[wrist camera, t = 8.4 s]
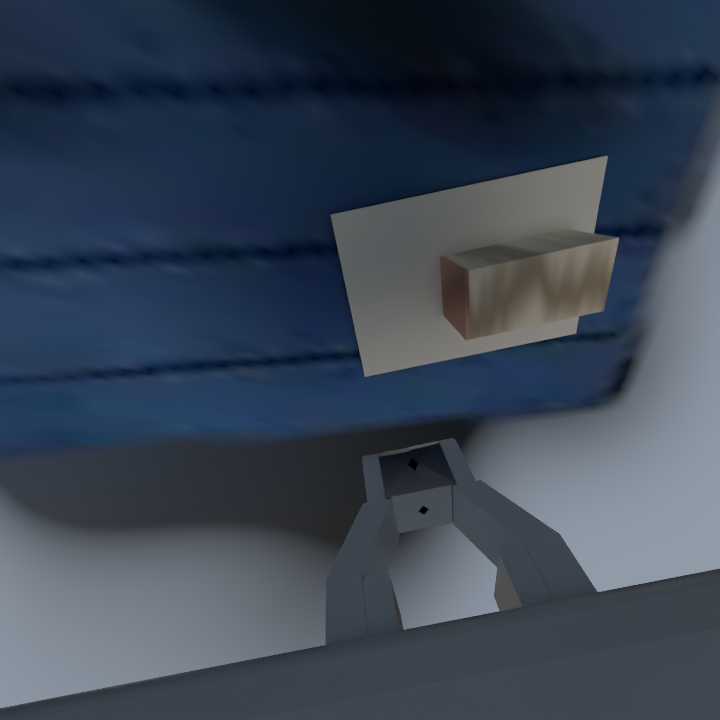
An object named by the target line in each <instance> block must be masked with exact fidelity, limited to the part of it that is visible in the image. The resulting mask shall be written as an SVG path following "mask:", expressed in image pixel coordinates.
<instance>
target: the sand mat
mask: <svg viewBox="0 0 720 720" xmlns="http://www.w3.org/2000/svg"><path fill="white" fill-rule="evenodd" d="M607 158H608V156H602V157H597V158H593V159H588V160H583V161H579V162H574V163H569V164H565V165H560V166H555V167H551V168H546V169H541V170H537V171H532V172H527V173H523V174H518V175H513V176H509V177H504V178H499V179H495V180H490V181H485V182H481V183H476V184H471V185H467V186H462V187H457V188H453V189H448V190H443V191H439V192H434V193H429V194H424V195H420V196H415V197H410V198H406V199H401V200H396V201H392V202H387V203H382V204H378V205H373V206H368V207H364V208H359V209H354V210H350V211H345V212H340V213H336V214H331V220H332V224H333V229H334V234H335V239H336V243H337V248H338V253H339V257H340V262H341V267H342V271H343V276H344V281H345V286H346V290H347V295H348V300H349V304H350V309H351V314H352V319H353V323H354V328H355V333H356V337H357V342H358V347H359V351H360V356H361V361H362V366H363V370H364V375H365V377H367V376H372V375H377V374H382V373H386V372H391V371H396V370H401V369H406V368H411V367H415V366H420V365H425V364H430V363H435V362H440V361H445V360H449V359H454V358H459V357H464V356H469V355H474V354H479V353H483V352H488V351H493V350H498V349H503V348H508V347H513V346H517V345H522V344H527V343H532V342H537V341H542V340H547V339H551V338H556V337H561V336H566V335H571V334H576V330H577V325H578V319H579V316H578V317H573V318H568V319H564V320H559V321H554V322H550V323H545V324H540V325H536V326H531V327H526V328H522V329H517V330H512V331H508V332H503V333H498V334H494V335H489V336H484V337H479V338H475V339H470V340H465V339H464V338H463V337H462V336H461V335H460V333H459V332H458V331H457V330H456V329H455V328H454V327H453V326H452V325H451V324H450V322H449V321H448V320H447V319H446V318H445V317H444V316H443V302H442V286H441V270H440V257H441V256H446V255H450V254H455V253H459V252H464V251H468V250H473V249H478V248H482V247H487V246H491V245H496V244H500V243H505V242H509V241H514V240H519V239H523V238H528V237H532V236H537V235H541V234H546V233H550V232H555V231H560V230H564V229H569V230H575V231H581V232H587V233H593V234H594V230H595V224H596V219H597V213H598V208H599V202H600V197H601V191H602V186H603V180H604V174H605V169H606V163H607Z"/></svg>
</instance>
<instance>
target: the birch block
mask: <svg viewBox="0 0 720 720" xmlns="http://www.w3.org/2000/svg"><path fill="white" fill-rule="evenodd" d="M618 241H619V238H618V237H612V236H606V235H599V234H593V233H587V232H581V231H575V230H569V229H564V230H560V231H555V232H550V233H546V234H541V235H537V236H532V237H528V238H523V239H519V240H514V241H509V242H505V243H500V244H496V245H491V246H487V247H482V248H478V249H473V250H468V251H464V252H459V253H455V254H450V255H446V256H441V257H440V270H441V286H442V302H443V316H444V317H445V318H446V319H447V320H448V321H449V322H450V324H451V325H452V326H453V327H454V328H455V329H456V330H457V331H458V332H459V333H460V335H461V336H462V337H463V338H464V339H465V340H470V339H475V338H479V337H484V336H489V335H494V334H498V333H503V332H508V331H512V330H517V329H522V328H526V327H531V326H536V325H540V324H545V323H550V322H554V321H559V320H564V319H568V318H573V317H578V316H582V315H587V314H592V313H596V312H601V311H604V307H605V302H606V297H607V293H608V288H609V283H610V279H611V274H612V269H613V264H614V260H615V255H616V250H617V246H618Z"/></svg>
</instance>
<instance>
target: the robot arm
mask: <svg viewBox="0 0 720 720" xmlns="http://www.w3.org/2000/svg"><path fill="white" fill-rule="evenodd" d="M378 455H379V456H378ZM362 462H363V469H364V477H365V485H366V493H367V501H368V503H364V504H363V505H362V507H361V509H360V511H359V513H358V515H357V517H356V519H355V521H354V523H353V525H352V527H351V529H350V531H349V534H348V536H347V538H346V540H345V542H344V544H343V546H342V548H341V550H340V552H339V554H338V556H337V558H336V560H335V562H334V564H333V566H332V568H331V570H330V572H329V574H328V577H327V579H326V645H324V646H319V647H313V648H309V649H303V650H298V651H293V652H288V653H282V654H277V655H272V656H267V657H262V658H257V659H252V660H246V661H242V662H236V663H231V664H226V665H221V666H215V667H211V668H205V669H200V670H195V671H190V672H185V673H179V674H174V675H169V676H164V677H159V678H154V679H149V680H144V681H139V682H133V683H128V684H123V685H118V686H112V687H107V688H102V689H97V690H93V691H87V692H82V693H77V694H72V695H67V696H61V697H56V698H51V699H46V700H41V701H36V702H31V703H26V704H20V705H16V706H10V707H5V708H0V720H720V569H716V570H711V571H706V572H700V573H695V574H690V575H685V576H680V577H675V578H669V579H665V580H659V581H654V582H649V583H644V584H638V585H633V586H628V587H623V588H618V589H613V590H607V591H602V592H597V591H596V589H595V588H594V586H593V585H592V583H591V581H590V580H589V578H588V577H587V575H586V574H585V572H584V571H583V569H582V568H581V566H580V565H579V563H578V562H577V560H576V558H575V557H574V555H573V554H572V552H571V551H570V549H569V548H568V546H567V545H566V543H565V541H564V540H563V538H562V537H561V535H560V534H559V533H557V532H556V531H554V530H553V529H551V528H550V527H548V526H547V525H545V524H544V523H543V522H541V521H540V520H538V519H537V518H535V517H534V516H532V515H531V514H529V513H528V512H526V511H525V510H524V509H522V508H521V507H519V506H518V505H516V504H515V503H513V502H512V501H510V500H509V499H507V498H506V497H505V496H503V495H502V494H500V493H498V492H497V491H496V490H494V489H493V488H491V487H490V486H488V485H487V484H486V483H484V482H483V481H481V480H479V481H475V478H474V476H473V475H472V472H471V470H470V468H469V466H468V464H467V462H466V460H465V458H464V456H463V454H462V452H461V450H460V448H459V446H458V444H457V442H456V440H455V439H454V438H452V439H447V440H442V441H438V442H437V441H436V442H431V443H427V444H422V445H418V446H413V447H408V448H406V449H400V450H394V451H389V452H383V453H378V454H373V455H367V456H363V460H362ZM449 523H454V525H455V526H456V527H457V528H458V529H459V530H460V531H461V532H462V533H463V534H464V535H465V536H466V537H467V538H468V539H469V540H470V541H471V542H472V543H473V544H474V545H475V546H476V547H477V548H478V549H479V550H480V551H481V552H482V553H483V554H484V555H485V556H486V557H487V558H488V559H489V560H490V561H492V563H494V565H496V566H497V576H496V584H495V592H494V597H495V600H496V602H497V605H498V608H499V610H500V611H499V612H494V613H489V614H484V615H479V616H473V617H468V618H463V619H458V620H453V621H448V622H442V623H437V624H432V625H427V626H422V627H416V628H411V629H407V630H403V625H402V619H401V614H400V610H399V607H398V603H397V600H396V596H395V592H394V589H393V585H392V581H391V578H390V575H389V574H388V571H389V568H390V565H391V562H392V558H393V555H394V552H395V549H396V545H397V542H398V538H399V533H403V532H408V531H412V530H417V529H421V528H425V527H431V526H437V525H443V524H449Z"/></svg>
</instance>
